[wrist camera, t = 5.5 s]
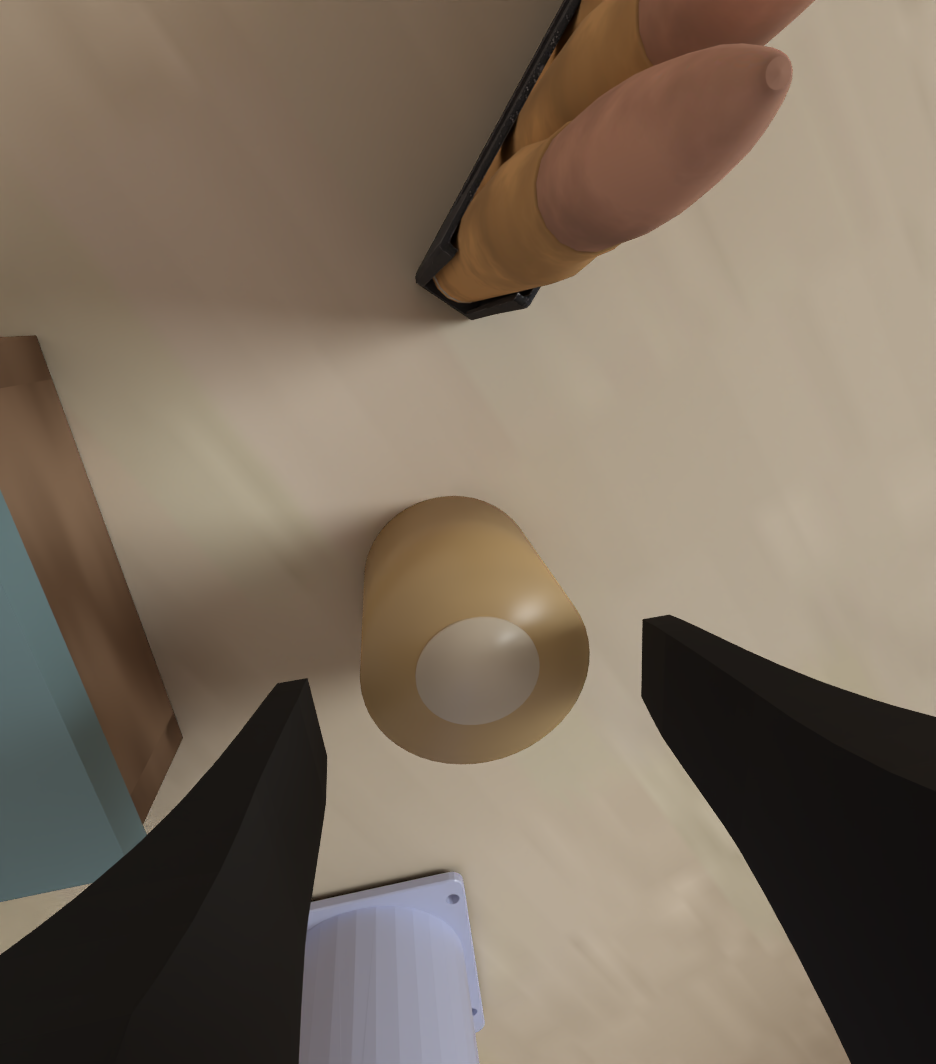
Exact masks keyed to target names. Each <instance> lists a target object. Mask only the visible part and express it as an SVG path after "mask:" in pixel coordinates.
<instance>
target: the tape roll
mask: <svg viewBox="0 0 936 1064" xmlns="http://www.w3.org/2000/svg"><path fill="white" fill-rule="evenodd" d="M589 652H590V651H589V642H588V636H587V632H586V629H585V626H584V623H583V621H582V619H581V616H580V614H579V613H578V611H577V610H576V608H575V607H574V605H573V604H572V602H571V601H570V599H569V598H568V596H567V595H566V594H565V592H564V591H563V589H562V588H561V586H560V585H559V584H558V582H557V581H556V579H555V578H554V576H553V575H552V574H551V572H550V571H549V569H548V568H547V566H546V565H545V563H544V562H543V561H542V559H541V558H540V556H539V555H538V553H537V552H536V551H535V549H534V548H533V546H532V545H531V543H530V542H529V541H528V539H527V538H526V536H525V535H524V533H523V532H522V531H521V529H520V528H519V526H518V525H517V524H516V523H515V522H514V521H513V519H511V518H510V517H509V516H508V515H507V514H506V513H504V512H503V511H501V510H500V509H498V508H497V507H495V506H493V505H491V504H489V503H487V502H484V501H481V500H478V499H475V498H469V497H462V496H446V497H438V498H433V499H429V500H426V501H423V502H420V503H417V504H415V505H413V506H411V507H409V508H407V509H405V510H404V511H402V512H401V513H399V514H398V515H397V516H395V517H394V518H393V519H392V520H391V521H390V522H388V524H387V525H386V526H385V527H384V528H383V529H382V530H381V532H380V533H379V535H378V536H377V537H376V539H375V540H374V543H373V545H372V547H371V549H370V551H369V554H368V557H367V560H366V565H365V571H364V595H363V618H362V642H361V665H360V683H361V691H362V696H363V699H364V702H365V706H366V708H367V710H368V712H369V714H370V716H371V718H372V719H373V721H374V722H375V724H376V725H377V726H378V728H379V729H380V730H381V731H382V732H383V733H384V734H385V735H386V736H387V737H388V738H389V739H390V740H391V741H393V742H394V743H395V744H396V745H398V746H400V747H401V748H403V749H405V750H406V751H408V752H410V753H412V754H415V755H417V756H419V757H422V758H425V759H429V760H432V761H436V762H442V763H449V764H476V763H483V762H489V761H493V760H497V759H501V758H504V757H507V756H510V755H512V754H515V753H517V752H519V751H521V750H523V749H526V748H528V747H529V746H531V745H533V744H534V743H536V742H537V741H539V740H541V739H542V738H543V737H544V736H546V735H547V734H548V733H550V732H551V731H552V730H553V729H554V728H555V727H556V726H557V725H558V724H559V723H560V722H561V721H562V720H563V719H564V718H565V716H566V715H567V714H568V713H569V712H570V710H571V709H572V707H573V705H574V704H575V702H576V701H577V699H578V697H579V695H580V693H581V691H582V689H583V686H584V683H585V680H586V677H587V672H588V666H589Z"/></svg>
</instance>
